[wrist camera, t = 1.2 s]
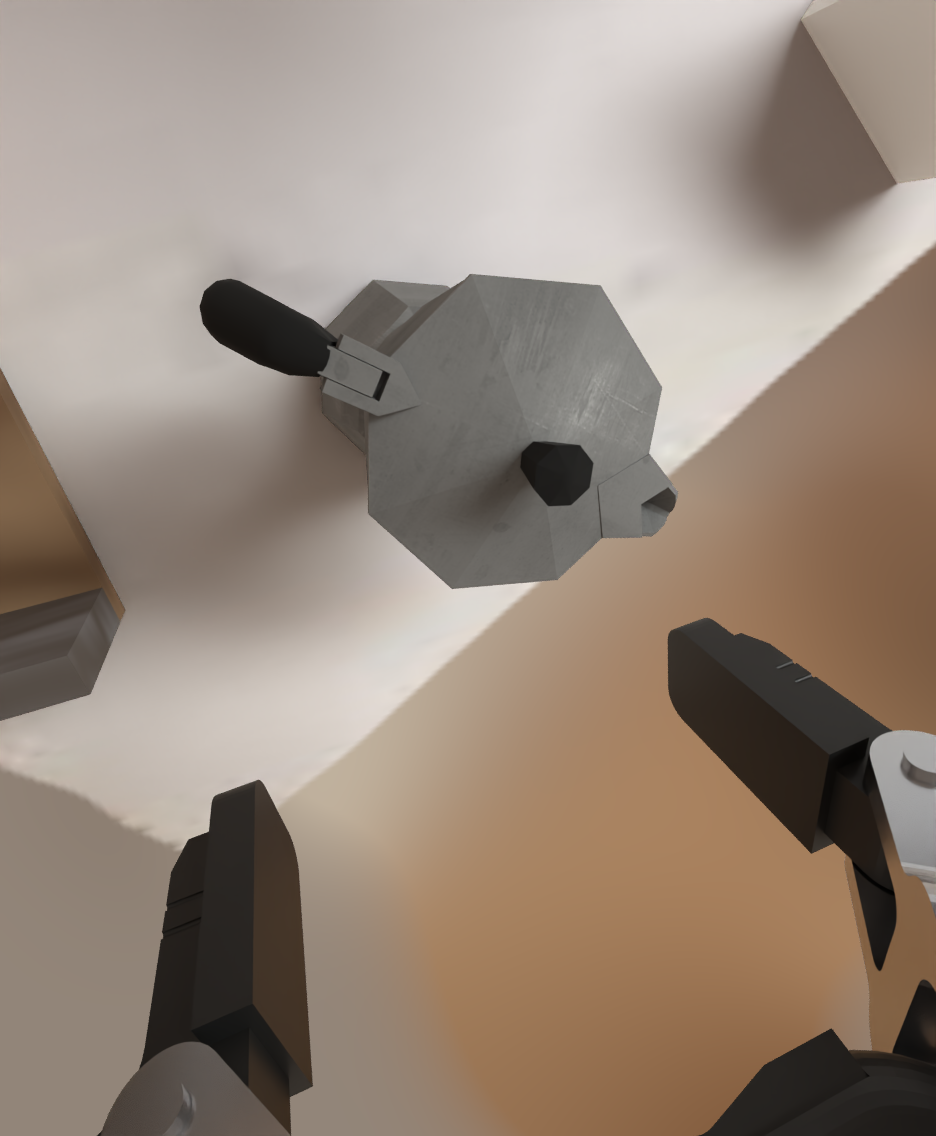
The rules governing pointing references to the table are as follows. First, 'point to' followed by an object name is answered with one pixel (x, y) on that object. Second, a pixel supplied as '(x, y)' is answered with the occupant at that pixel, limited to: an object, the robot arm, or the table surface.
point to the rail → (45, 580)
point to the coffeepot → (477, 415)
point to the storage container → (885, 74)
